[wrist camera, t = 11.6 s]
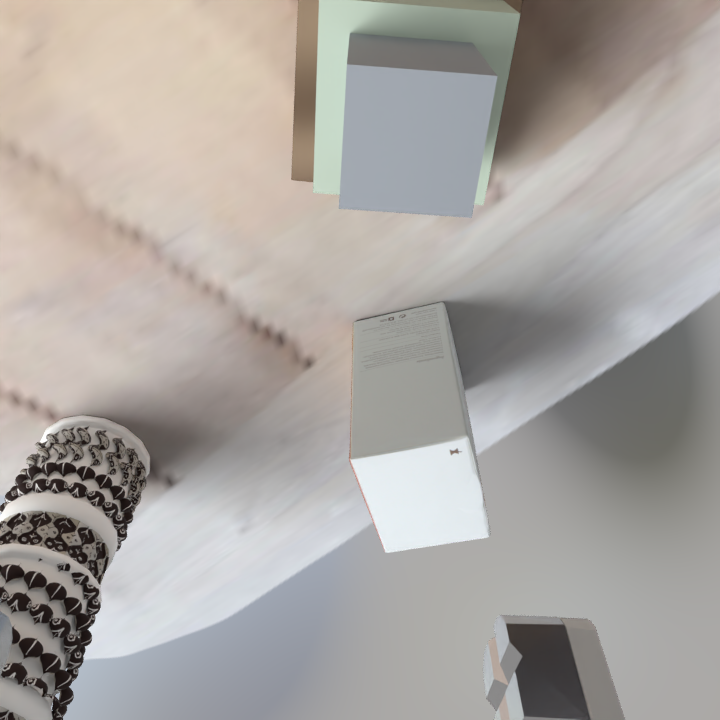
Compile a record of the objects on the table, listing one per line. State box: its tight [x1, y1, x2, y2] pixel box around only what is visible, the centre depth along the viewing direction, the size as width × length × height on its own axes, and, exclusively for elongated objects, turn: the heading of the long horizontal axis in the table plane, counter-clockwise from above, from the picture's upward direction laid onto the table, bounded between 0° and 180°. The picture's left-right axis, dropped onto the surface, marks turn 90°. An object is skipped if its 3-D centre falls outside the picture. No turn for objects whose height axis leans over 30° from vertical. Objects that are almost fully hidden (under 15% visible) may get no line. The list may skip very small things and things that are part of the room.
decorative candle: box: [0, 415, 150, 720], centre depth 41 cm, size 9×9×25 cm
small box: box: [349, 302, 490, 553], centre depth 40 cm, size 8×6×13 cm
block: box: [339, 33, 497, 218], centre depth 25 cm, size 5×5×6 cm
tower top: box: [313, 0, 520, 205], centre depth 29 cm, size 8×8×4 cm
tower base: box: [291, 0, 523, 182], centre depth 33 cm, size 10×10×4 cm
